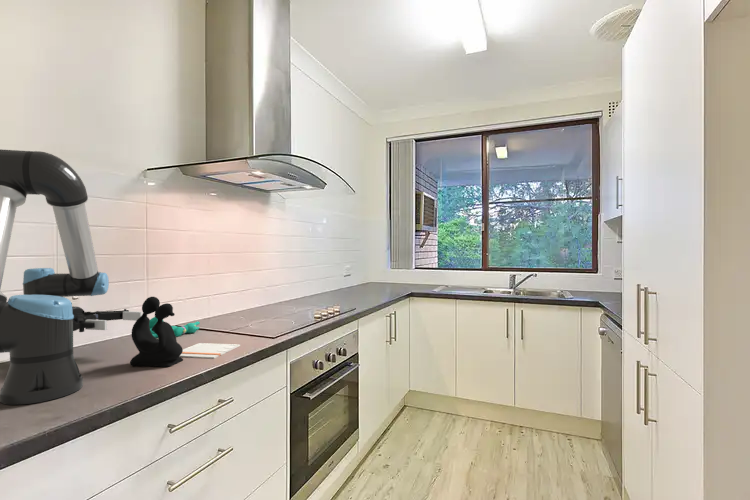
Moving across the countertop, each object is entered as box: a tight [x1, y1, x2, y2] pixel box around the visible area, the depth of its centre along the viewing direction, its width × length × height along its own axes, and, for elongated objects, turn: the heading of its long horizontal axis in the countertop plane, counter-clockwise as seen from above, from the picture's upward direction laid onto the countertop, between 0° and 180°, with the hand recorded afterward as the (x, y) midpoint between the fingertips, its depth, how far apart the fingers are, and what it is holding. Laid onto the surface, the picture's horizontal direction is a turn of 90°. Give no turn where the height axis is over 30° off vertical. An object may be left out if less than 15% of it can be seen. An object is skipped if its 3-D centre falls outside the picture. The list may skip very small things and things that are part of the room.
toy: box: [149, 316, 200, 339], centre depth 159 cm, size 7×22×20 cm
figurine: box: [129, 296, 184, 368], centre depth 119 cm, size 14×9×20 cm, turn 83°
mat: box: [179, 342, 241, 359], centre depth 133 cm, size 16×16×1 cm
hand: (124, 320), depth 121 cm, fingers open, 13 cm apart
